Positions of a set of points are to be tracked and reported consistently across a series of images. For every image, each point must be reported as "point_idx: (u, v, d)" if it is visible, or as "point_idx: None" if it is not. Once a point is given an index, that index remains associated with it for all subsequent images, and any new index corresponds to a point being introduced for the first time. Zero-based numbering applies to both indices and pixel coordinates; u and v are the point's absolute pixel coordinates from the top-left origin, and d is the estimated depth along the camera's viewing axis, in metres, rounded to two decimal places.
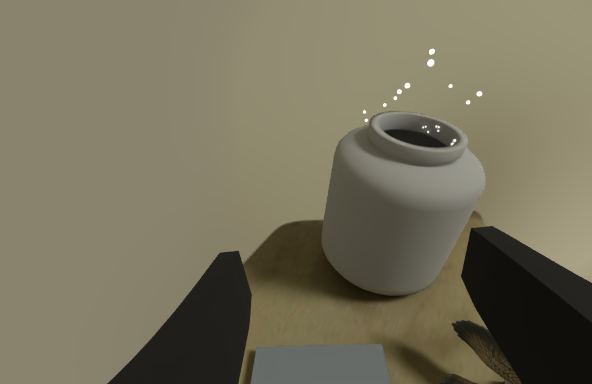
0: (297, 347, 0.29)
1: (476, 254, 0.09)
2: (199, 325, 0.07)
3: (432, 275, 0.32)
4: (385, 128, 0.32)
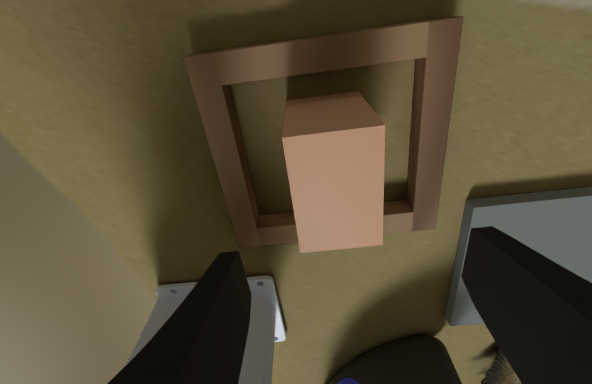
0: None
1: (476, 254, 0.09)
2: (199, 325, 0.07)
3: None
4: None
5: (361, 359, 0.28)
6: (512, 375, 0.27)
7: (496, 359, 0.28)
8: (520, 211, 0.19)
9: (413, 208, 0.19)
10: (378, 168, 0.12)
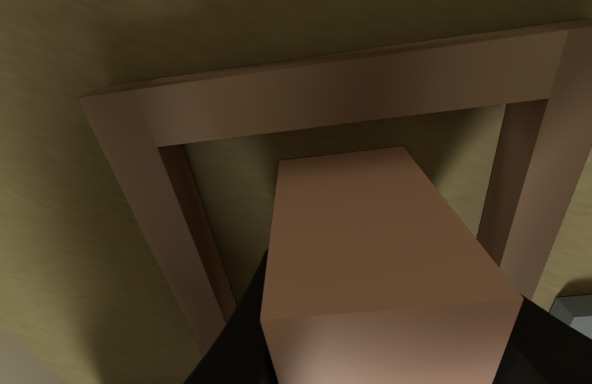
0: None
1: None
2: None
3: None
4: None
5: None
6: None
7: None
8: None
9: None
10: (484, 367, 0.05)
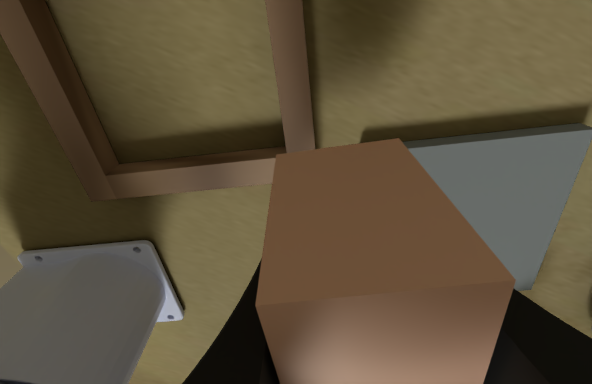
0: (566, 195, 0.18)
1: None
2: None
3: None
4: None
5: None
6: None
7: None
8: (418, 159, 0.17)
9: (286, 151, 0.16)
10: (479, 351, 0.05)
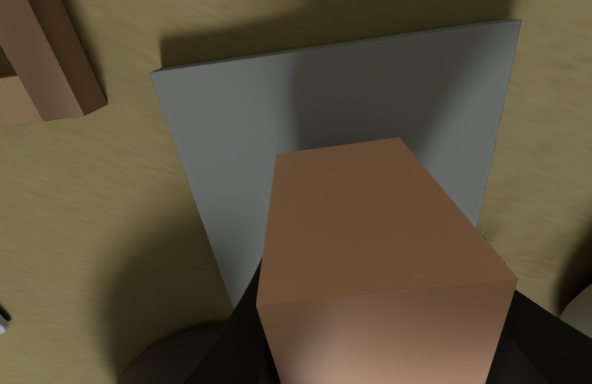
0: (490, 142, 0.11)
1: None
2: None
3: None
4: None
5: (135, 361, 0.19)
6: None
7: None
8: (242, 82, 0.10)
9: (16, 68, 0.10)
10: (482, 351, 0.05)
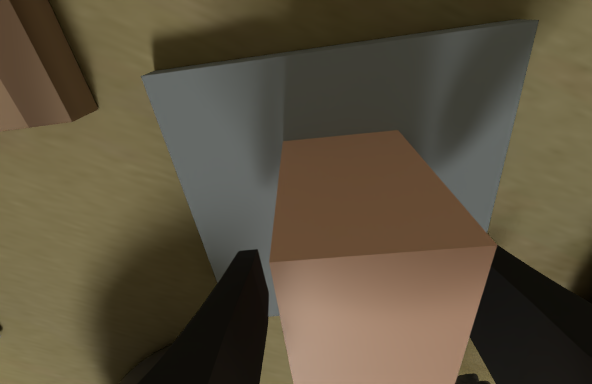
0: (502, 149, 0.11)
1: None
2: (226, 323, 0.06)
3: None
4: None
5: (130, 372, 0.18)
6: None
7: None
8: (240, 86, 0.10)
9: None
10: (464, 314, 0.06)
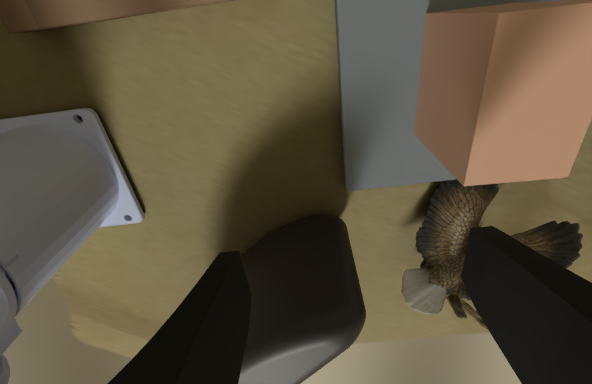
0: None
1: (476, 254, 0.09)
2: (199, 325, 0.07)
3: None
4: None
5: (247, 251, 0.22)
6: (449, 228, 0.19)
7: (428, 210, 0.20)
8: None
9: None
10: None
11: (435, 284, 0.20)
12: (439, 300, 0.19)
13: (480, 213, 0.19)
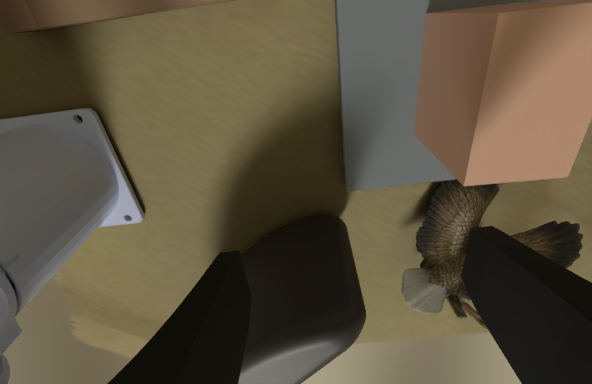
0: None
1: (476, 254, 0.09)
2: (199, 325, 0.07)
3: None
4: None
5: (247, 252, 0.22)
6: (449, 228, 0.19)
7: (428, 210, 0.20)
8: None
9: None
10: None
11: (435, 284, 0.20)
12: (439, 300, 0.19)
13: (480, 213, 0.19)
